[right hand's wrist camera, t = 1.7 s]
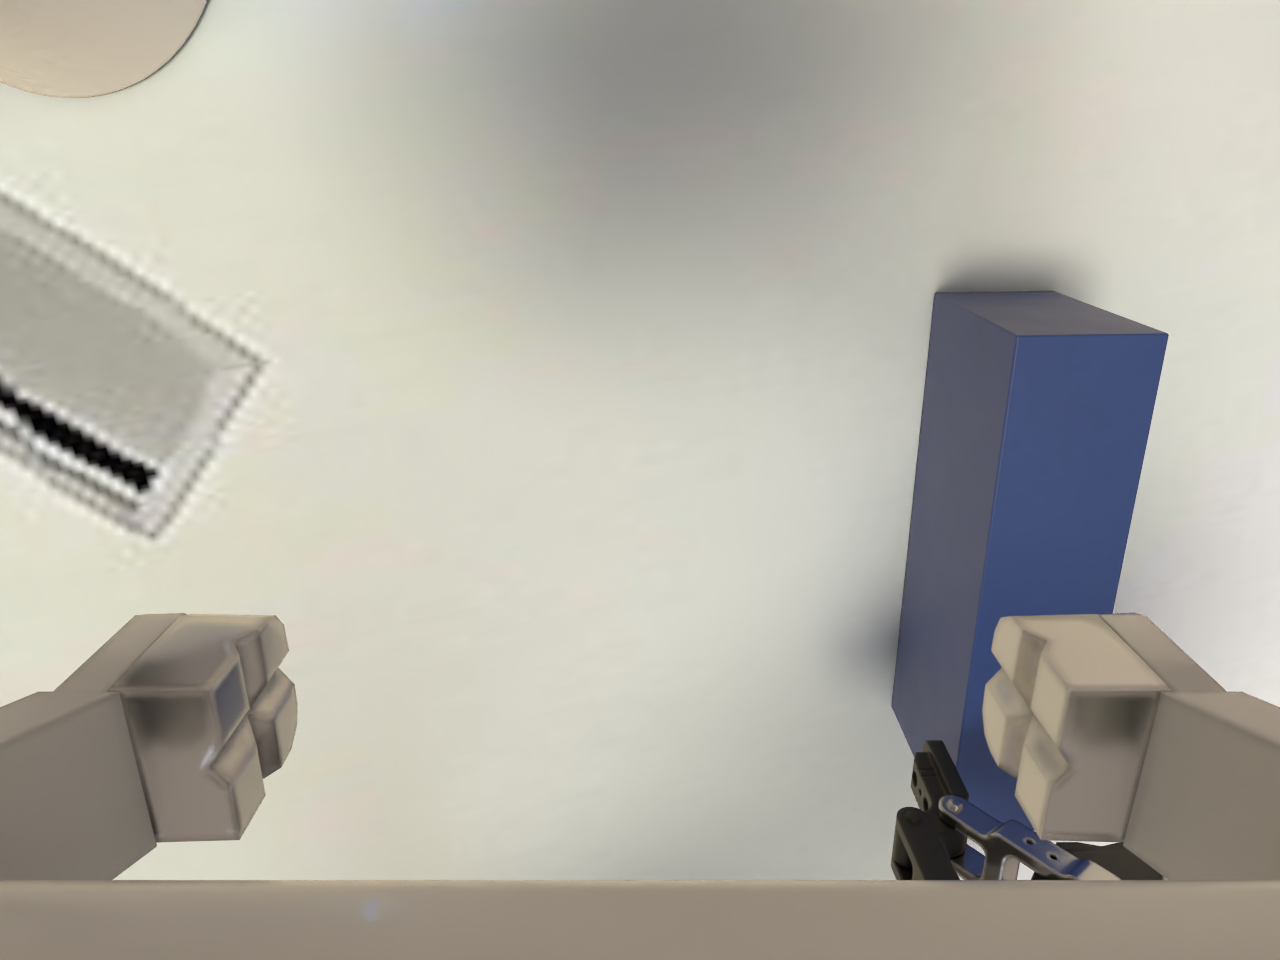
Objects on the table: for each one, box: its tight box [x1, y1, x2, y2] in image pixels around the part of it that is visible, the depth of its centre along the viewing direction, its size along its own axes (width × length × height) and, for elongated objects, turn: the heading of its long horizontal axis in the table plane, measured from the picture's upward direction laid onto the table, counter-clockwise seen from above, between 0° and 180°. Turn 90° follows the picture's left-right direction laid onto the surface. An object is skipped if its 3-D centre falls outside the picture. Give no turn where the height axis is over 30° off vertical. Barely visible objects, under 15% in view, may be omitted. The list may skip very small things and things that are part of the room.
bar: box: [892, 291, 1168, 830], centre depth 41 cm, size 23×6×10 cm, turn 1°
